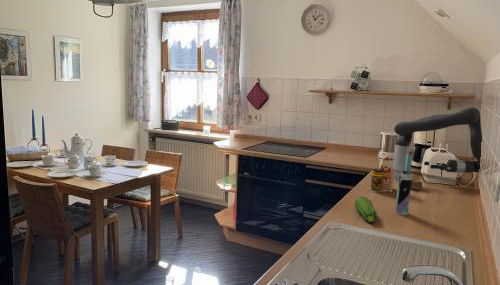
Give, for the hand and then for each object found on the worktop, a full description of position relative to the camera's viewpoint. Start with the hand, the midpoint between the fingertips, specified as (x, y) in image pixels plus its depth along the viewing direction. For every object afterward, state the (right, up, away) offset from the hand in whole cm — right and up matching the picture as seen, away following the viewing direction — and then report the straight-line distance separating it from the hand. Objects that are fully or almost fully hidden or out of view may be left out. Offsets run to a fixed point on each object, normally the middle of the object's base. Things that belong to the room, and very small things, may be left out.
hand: (427, 164), depth 228 cm
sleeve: (-12, -10, +8) cm, 18 cm away
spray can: (-36, -19, -51) cm, 65 cm away
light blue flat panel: (-12, -9, +5) cm, 16 cm away
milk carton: (-31, -13, -12) cm, 35 cm away
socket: (-12, -13, -9) cm, 20 cm away
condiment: (-36, -13, -16) cm, 41 cm away
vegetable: (-54, -20, -58) cm, 81 cm away
